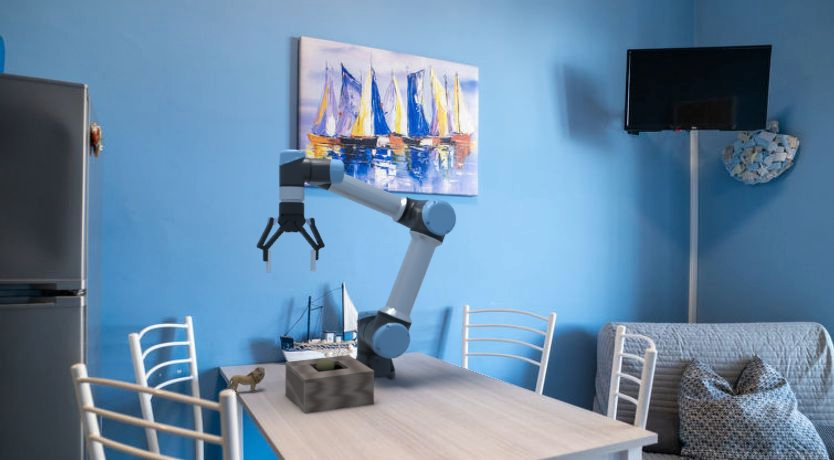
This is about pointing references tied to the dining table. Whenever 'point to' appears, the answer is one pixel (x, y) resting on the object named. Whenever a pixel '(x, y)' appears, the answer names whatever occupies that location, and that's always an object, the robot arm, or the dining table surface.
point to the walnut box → (329, 384)
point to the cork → (325, 365)
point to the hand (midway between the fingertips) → (291, 271)
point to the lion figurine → (247, 379)
